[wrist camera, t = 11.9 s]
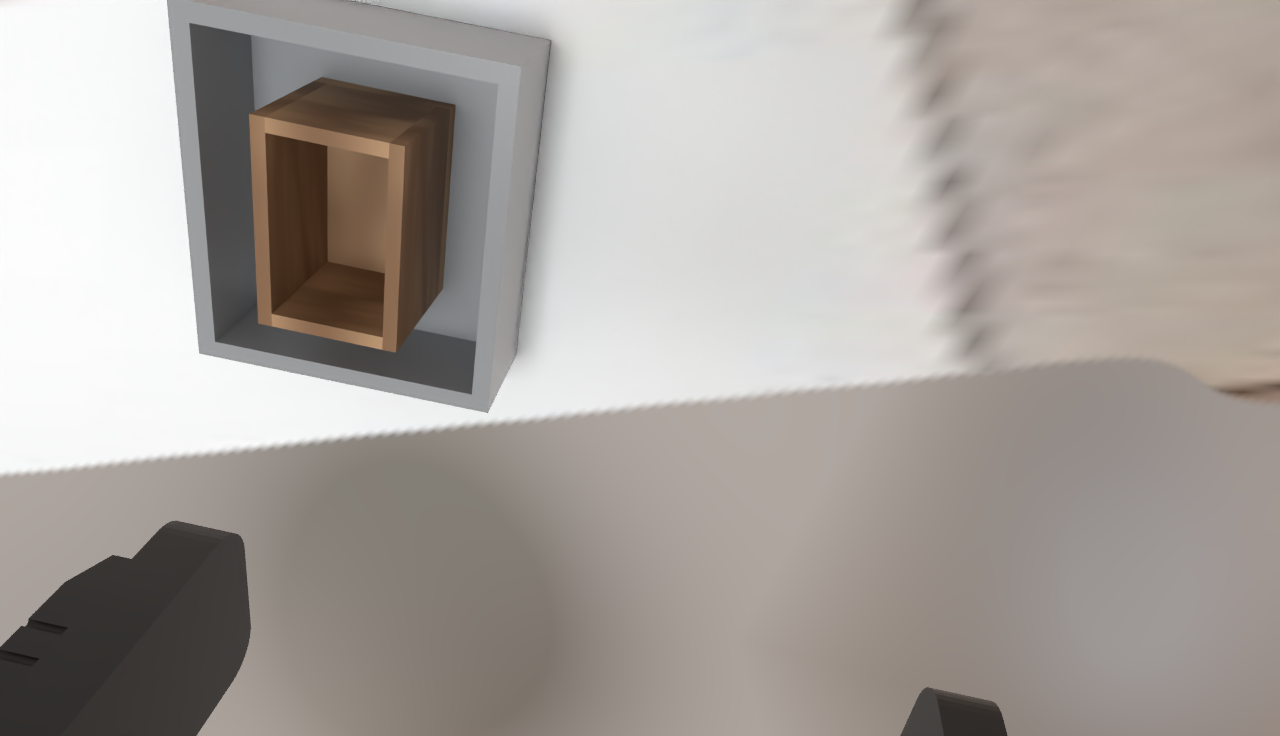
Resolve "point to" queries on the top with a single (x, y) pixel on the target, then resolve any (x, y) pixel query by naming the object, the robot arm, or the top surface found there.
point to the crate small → (350, 210)
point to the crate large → (479, 187)
